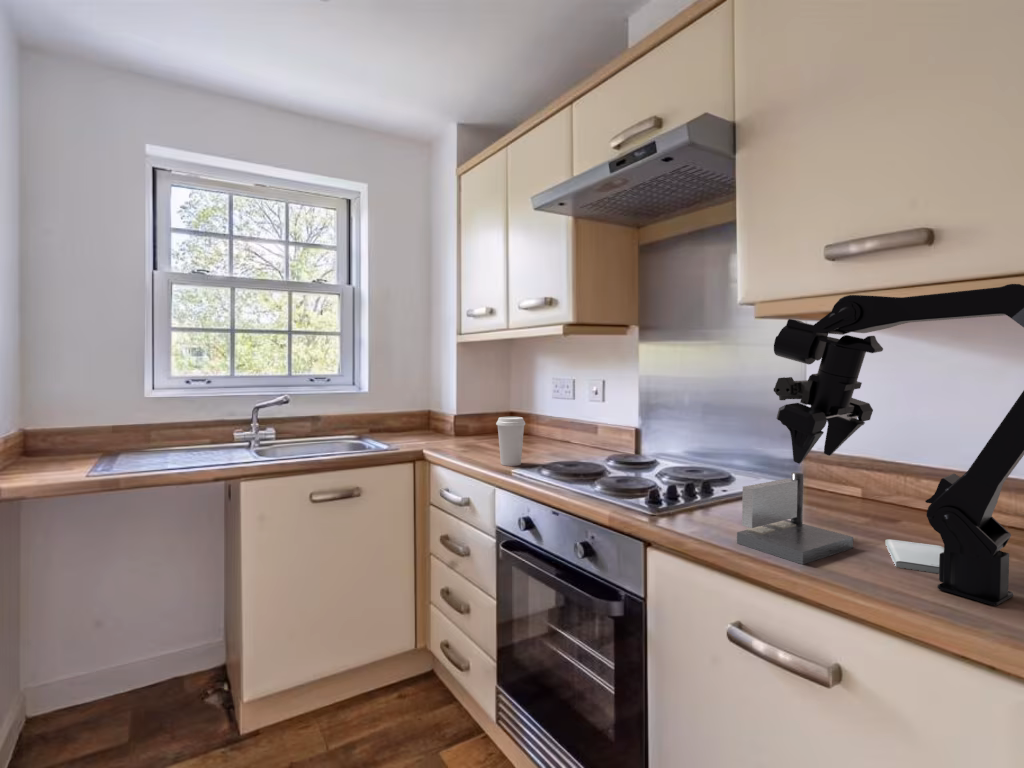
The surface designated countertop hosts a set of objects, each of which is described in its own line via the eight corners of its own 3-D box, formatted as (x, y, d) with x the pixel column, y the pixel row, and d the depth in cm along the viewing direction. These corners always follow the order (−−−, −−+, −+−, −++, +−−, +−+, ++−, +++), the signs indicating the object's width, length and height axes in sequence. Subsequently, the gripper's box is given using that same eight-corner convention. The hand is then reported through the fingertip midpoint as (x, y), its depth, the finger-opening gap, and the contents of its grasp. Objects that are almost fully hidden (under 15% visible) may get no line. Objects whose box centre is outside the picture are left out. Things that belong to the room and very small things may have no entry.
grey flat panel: (786, 514, 103) (787, 478, 103) (796, 517, 101) (797, 480, 101) (742, 525, 96) (742, 486, 96) (752, 528, 94) (752, 488, 94)
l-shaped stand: (860, 545, 94) (861, 483, 94) (802, 564, 85) (803, 496, 85) (794, 528, 104) (795, 472, 104) (736, 543, 95) (737, 482, 95)
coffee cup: (490, 463, 174) (490, 417, 174) (514, 460, 180) (514, 415, 179) (506, 467, 166) (506, 419, 166) (531, 464, 172) (531, 418, 171)
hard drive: (962, 570, 80) (943, 545, 91) (895, 560, 84) (885, 537, 95) (962, 581, 80) (943, 555, 91) (895, 570, 84) (885, 546, 95)
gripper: (822, 356, 99) (799, 433, 104) (759, 361, 89) (738, 446, 94) (886, 374, 90) (858, 458, 95) (825, 382, 80) (797, 475, 85)
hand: (812, 458), depth 92 cm, fingers open, 9 cm apart
